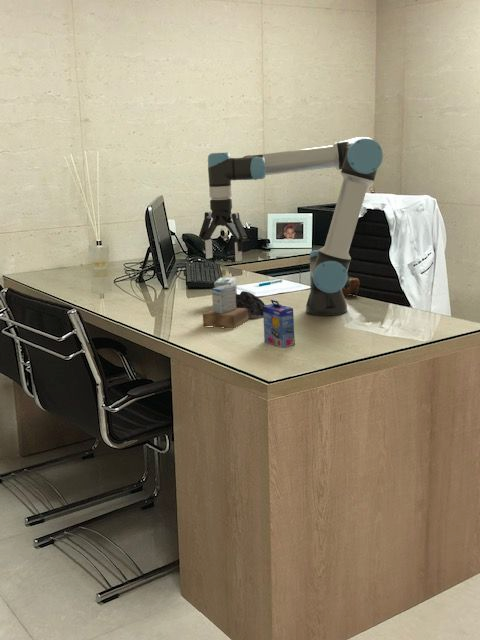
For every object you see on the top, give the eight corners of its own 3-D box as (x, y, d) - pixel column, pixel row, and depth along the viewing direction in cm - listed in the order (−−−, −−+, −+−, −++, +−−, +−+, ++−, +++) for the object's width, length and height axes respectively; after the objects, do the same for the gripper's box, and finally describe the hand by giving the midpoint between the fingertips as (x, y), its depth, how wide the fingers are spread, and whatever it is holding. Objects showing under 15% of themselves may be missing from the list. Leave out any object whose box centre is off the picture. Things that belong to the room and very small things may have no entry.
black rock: (274, 314, 298) (272, 288, 297) (258, 319, 286) (256, 292, 285) (242, 314, 304) (240, 289, 303) (225, 319, 292) (224, 293, 291)
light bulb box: (232, 309, 305) (231, 282, 302) (215, 309, 306) (213, 282, 304) (237, 303, 315) (236, 277, 313) (221, 303, 316) (220, 277, 314)
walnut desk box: (248, 322, 287) (247, 308, 285) (234, 330, 276) (233, 315, 275) (218, 320, 292) (217, 306, 290) (203, 328, 281) (202, 313, 280)
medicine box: (227, 308, 287) (226, 284, 285) (236, 309, 284) (235, 285, 282) (212, 312, 281) (211, 288, 279) (221, 313, 279) (220, 289, 276)
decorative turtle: (352, 299, 314) (350, 279, 312) (326, 296, 326) (324, 277, 324) (369, 294, 319) (367, 275, 318) (343, 291, 331) (341, 273, 330)
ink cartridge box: (263, 342, 258) (261, 298, 255) (276, 339, 261) (275, 295, 258) (281, 348, 250) (280, 303, 247) (295, 345, 253) (294, 300, 250)
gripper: (255, 198, 269) (258, 260, 274) (201, 196, 285) (204, 255, 290) (241, 200, 263) (244, 263, 268) (186, 198, 279) (190, 258, 284)
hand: (223, 259), depth 279 cm, fingers open, 13 cm apart
